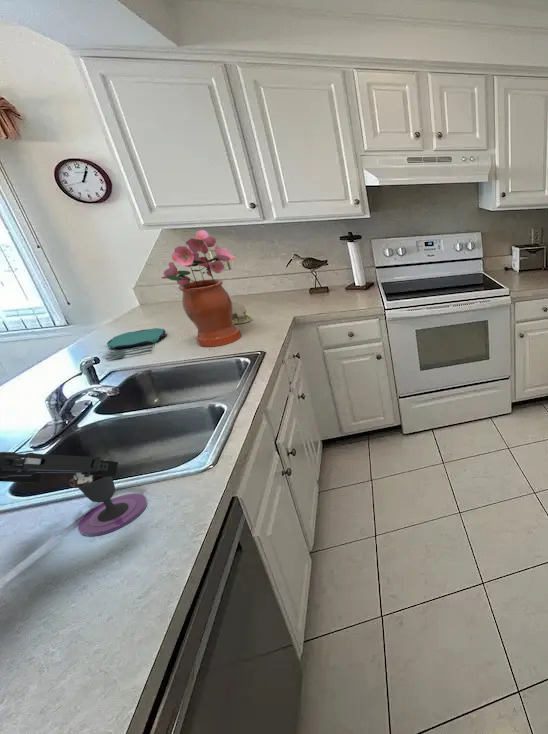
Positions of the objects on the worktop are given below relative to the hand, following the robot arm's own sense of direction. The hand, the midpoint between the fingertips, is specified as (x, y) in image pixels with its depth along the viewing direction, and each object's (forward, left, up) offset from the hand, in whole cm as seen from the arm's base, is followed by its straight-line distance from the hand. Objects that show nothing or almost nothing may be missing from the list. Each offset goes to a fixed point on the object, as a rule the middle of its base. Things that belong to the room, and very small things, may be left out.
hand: (77, 472), depth 80 cm
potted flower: (-44, +97, -13) cm, 107 cm away
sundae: (0, +2, -12) cm, 13 cm away
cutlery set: (-79, +91, -13) cm, 121 cm away
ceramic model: (-54, +119, -13) cm, 131 cm away
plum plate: (0, +2, -13) cm, 13 cm away
